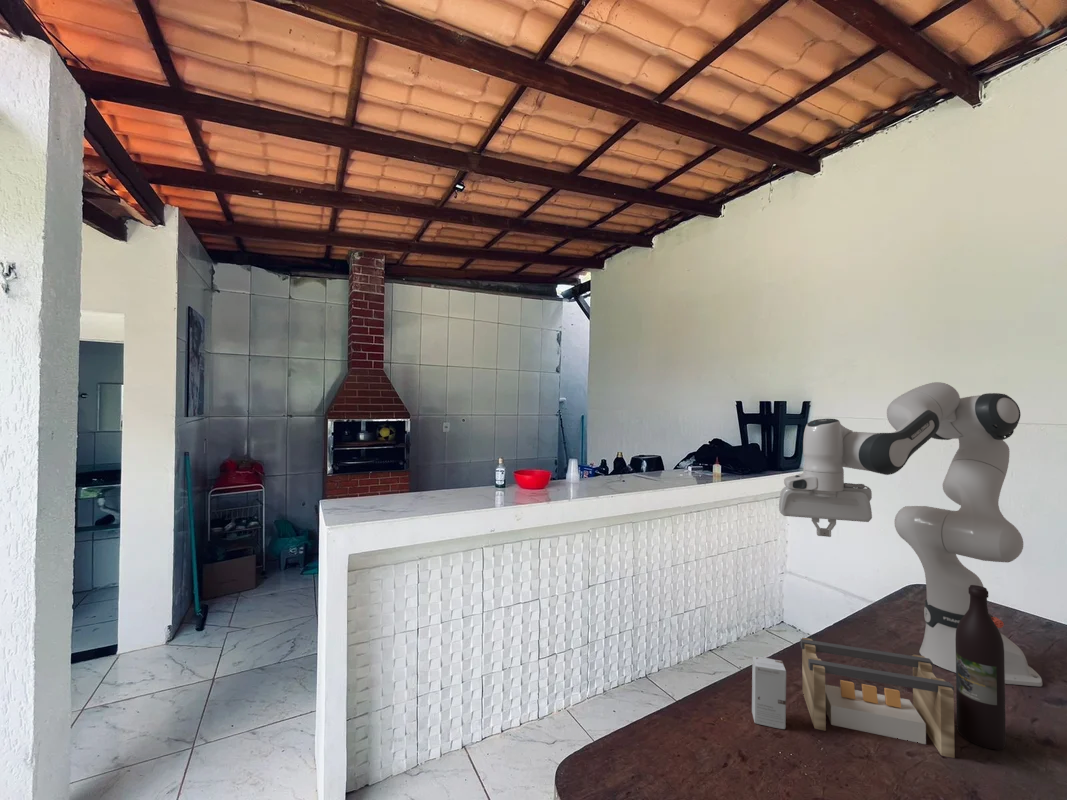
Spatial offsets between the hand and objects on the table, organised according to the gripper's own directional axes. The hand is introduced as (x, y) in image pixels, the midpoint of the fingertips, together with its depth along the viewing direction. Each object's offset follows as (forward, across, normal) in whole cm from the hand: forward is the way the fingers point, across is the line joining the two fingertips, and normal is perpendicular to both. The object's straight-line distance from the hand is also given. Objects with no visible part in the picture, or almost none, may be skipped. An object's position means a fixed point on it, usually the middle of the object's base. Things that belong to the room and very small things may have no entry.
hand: (823, 535), depth 119 cm
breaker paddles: (+29, -4, +21) cm, 36 cm away
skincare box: (+33, +16, +28) cm, 46 cm away
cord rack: (+33, -4, +21) cm, 39 cm away
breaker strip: (+33, -4, +21) cm, 39 cm away
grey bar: (+22, -4, +25) cm, 34 cm away
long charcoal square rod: (+22, -4, +16) cm, 28 cm away
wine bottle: (+33, -23, +19) cm, 45 cm away
